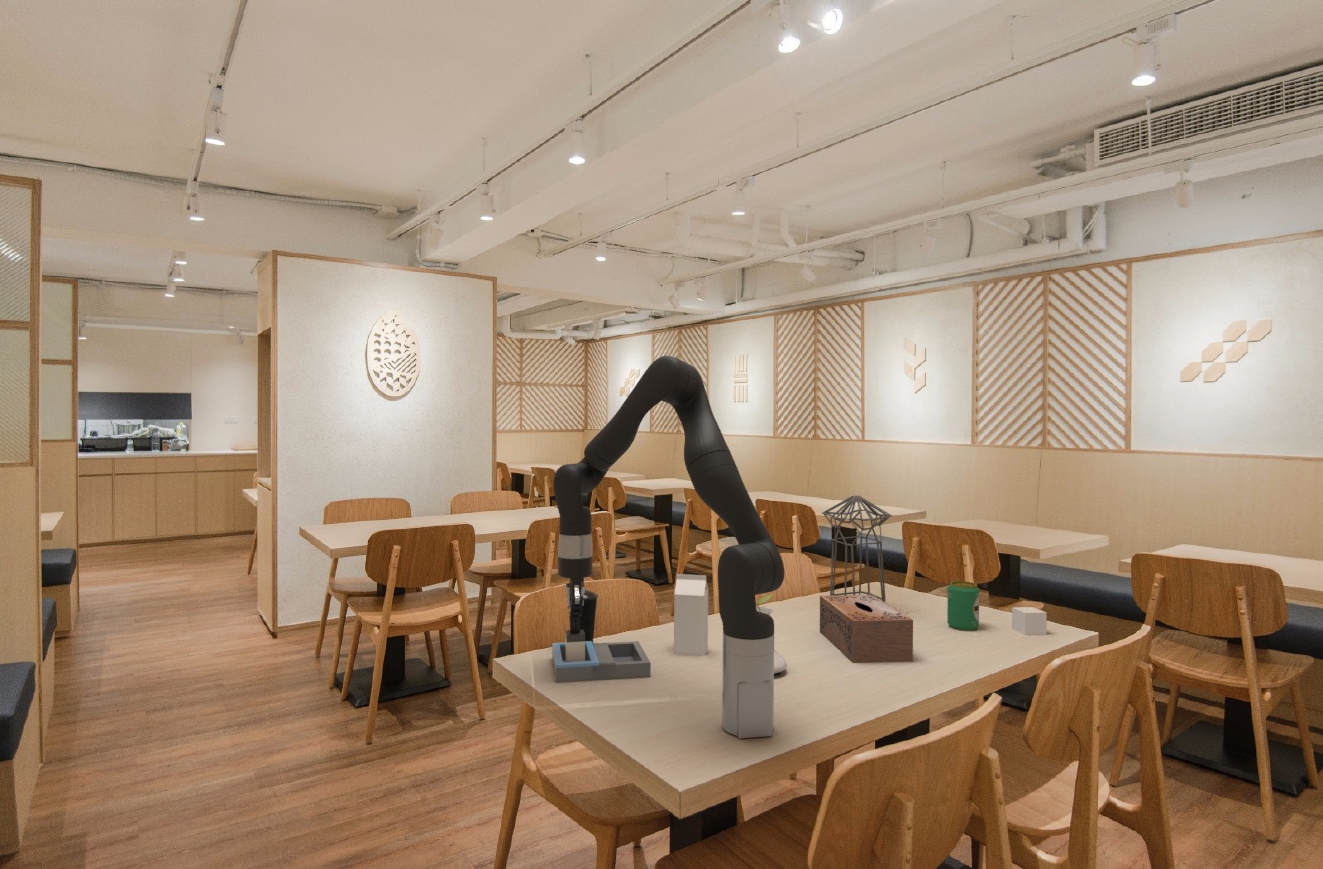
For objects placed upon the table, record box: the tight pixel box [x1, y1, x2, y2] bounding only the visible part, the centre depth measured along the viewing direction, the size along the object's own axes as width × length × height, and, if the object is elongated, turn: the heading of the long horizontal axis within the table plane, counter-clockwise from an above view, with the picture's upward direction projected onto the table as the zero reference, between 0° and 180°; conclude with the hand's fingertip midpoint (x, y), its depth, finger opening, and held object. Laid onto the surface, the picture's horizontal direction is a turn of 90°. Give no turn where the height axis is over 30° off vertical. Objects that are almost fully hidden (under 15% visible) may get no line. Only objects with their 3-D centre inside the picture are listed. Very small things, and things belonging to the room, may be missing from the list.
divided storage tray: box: [551, 640, 652, 684], centre depth 162 cm, size 16×20×5 cm
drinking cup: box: [566, 577, 599, 644], centre depth 177 cm, size 8×8×20 cm
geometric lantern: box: [821, 495, 893, 603], centre depth 214 cm, size 16×16×35 cm
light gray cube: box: [1011, 606, 1048, 636], centre depth 197 cm, size 6×6×6 cm
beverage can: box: [946, 580, 980, 632], centre depth 201 cm, size 8×8×12 cm
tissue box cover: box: [819, 594, 914, 664], centre depth 183 cm, size 26×14×10 cm, turn 5°
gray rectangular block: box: [564, 629, 585, 662], centre depth 161 cm, size 4×4×8 cm
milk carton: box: [673, 573, 709, 656], centre depth 176 cm, size 7×7×19 cm
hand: (574, 632), depth 161 cm, fingers closed
